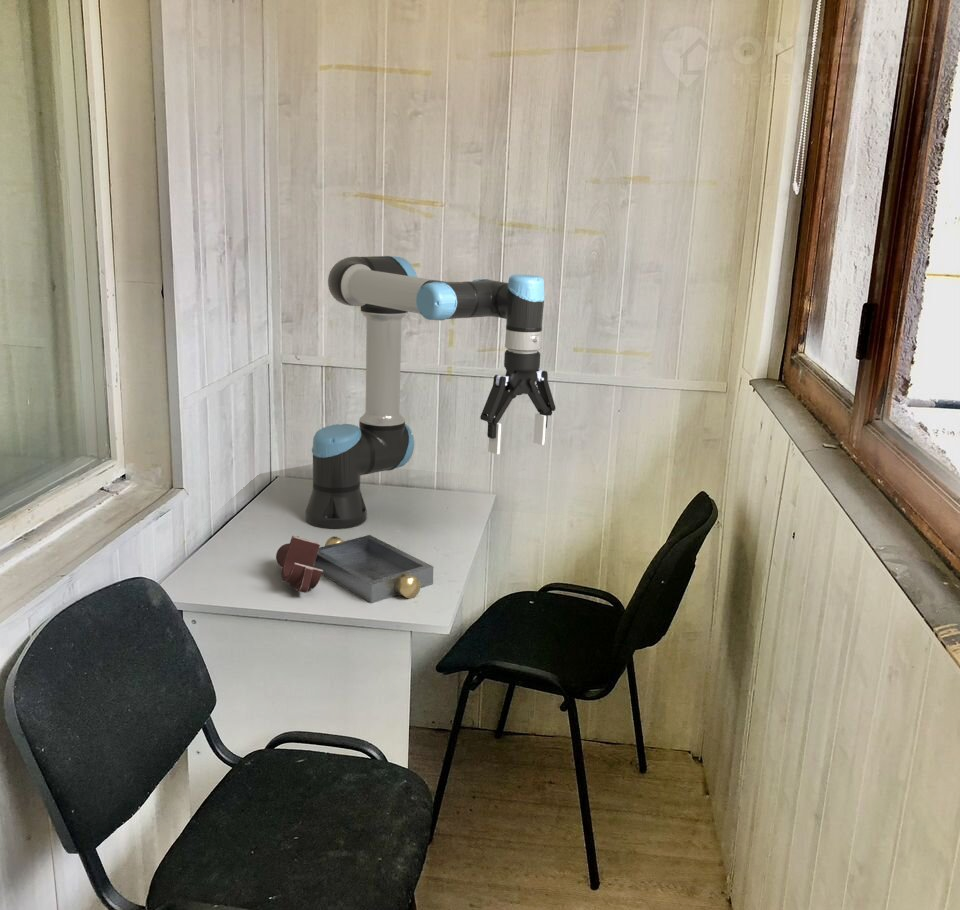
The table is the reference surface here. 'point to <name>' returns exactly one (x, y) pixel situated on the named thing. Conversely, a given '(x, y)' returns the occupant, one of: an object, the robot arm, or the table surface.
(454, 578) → the table surface
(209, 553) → the table surface
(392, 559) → the cradle
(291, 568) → the bracket
